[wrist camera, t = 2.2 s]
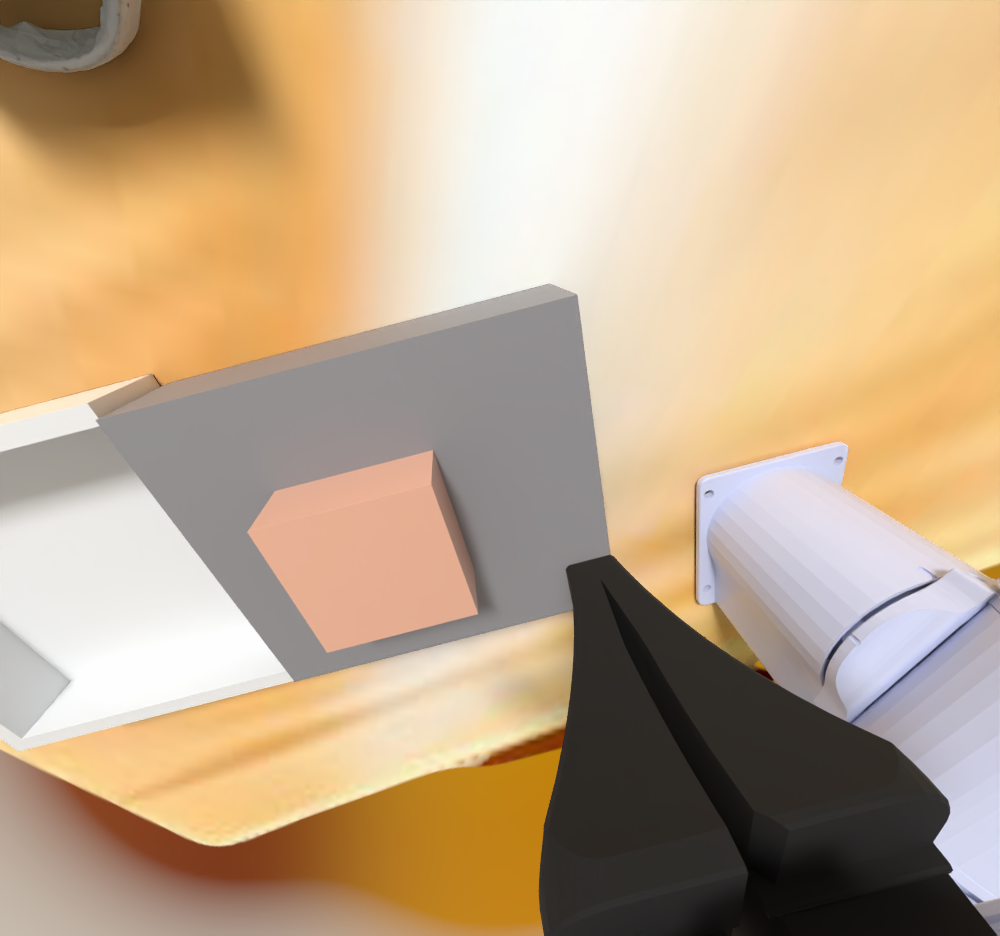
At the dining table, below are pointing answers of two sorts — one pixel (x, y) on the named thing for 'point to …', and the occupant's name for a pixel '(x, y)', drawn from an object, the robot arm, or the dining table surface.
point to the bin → (103, 586)
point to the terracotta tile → (369, 552)
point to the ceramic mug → (72, 41)
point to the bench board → (391, 457)
